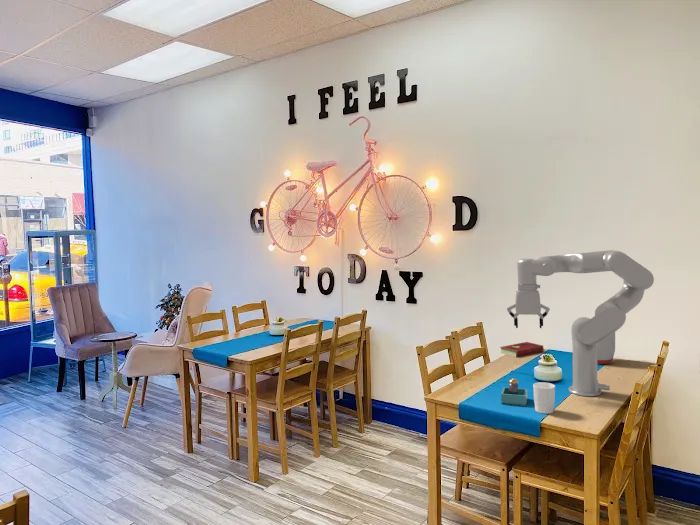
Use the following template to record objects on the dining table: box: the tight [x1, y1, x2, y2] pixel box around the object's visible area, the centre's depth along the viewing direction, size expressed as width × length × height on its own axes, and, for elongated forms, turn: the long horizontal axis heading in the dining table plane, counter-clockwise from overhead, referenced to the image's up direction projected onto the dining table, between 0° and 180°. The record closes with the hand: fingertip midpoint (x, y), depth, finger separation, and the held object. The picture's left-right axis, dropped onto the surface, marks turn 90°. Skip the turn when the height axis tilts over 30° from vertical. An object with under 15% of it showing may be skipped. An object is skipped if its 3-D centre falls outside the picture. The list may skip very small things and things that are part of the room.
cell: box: [508, 377, 519, 395], centre depth 213 cm, size 4×4×9 cm
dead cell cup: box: [500, 386, 528, 407], centre depth 213 cm, size 9×9×4 cm
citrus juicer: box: [597, 331, 616, 365], centre depth 267 cm, size 16×17×20 cm
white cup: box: [532, 381, 556, 415], centre depth 201 cm, size 8×8×10 cm
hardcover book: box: [499, 341, 545, 358], centre depth 292 cm, size 12×21×4 cm, turn 119°
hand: (528, 327), depth 224 cm, fingers open, 9 cm apart
